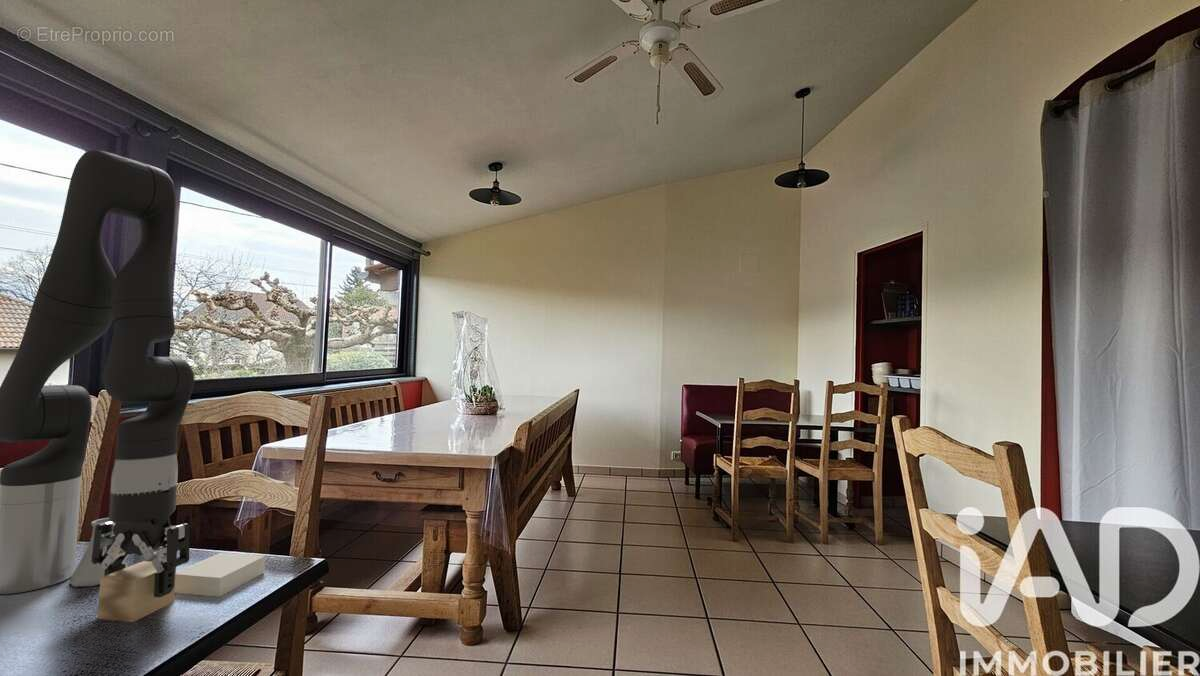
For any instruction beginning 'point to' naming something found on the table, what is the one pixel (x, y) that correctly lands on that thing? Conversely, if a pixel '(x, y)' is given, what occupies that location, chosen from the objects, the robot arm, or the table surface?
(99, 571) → the flask
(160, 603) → the oak block
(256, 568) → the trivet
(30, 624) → the table surface
